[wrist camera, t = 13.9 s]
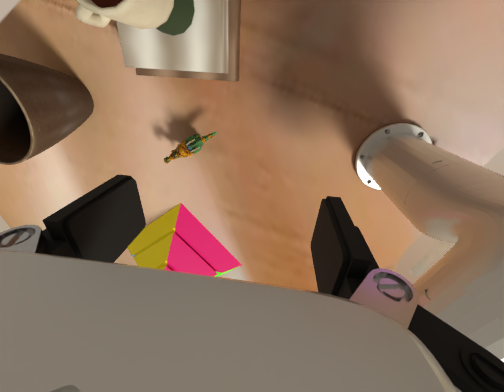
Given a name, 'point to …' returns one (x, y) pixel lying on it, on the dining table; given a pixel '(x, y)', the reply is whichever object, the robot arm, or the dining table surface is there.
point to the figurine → (188, 147)
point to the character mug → (139, 13)
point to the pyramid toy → (181, 246)
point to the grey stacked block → (189, 45)
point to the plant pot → (37, 108)
